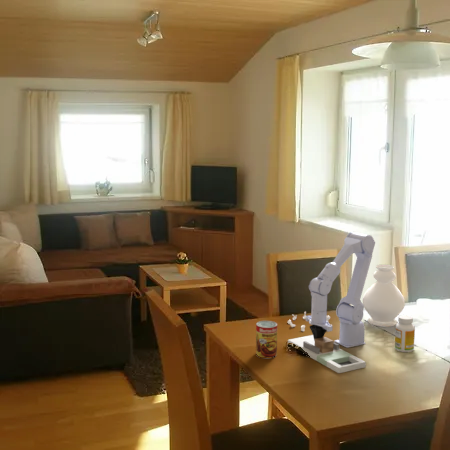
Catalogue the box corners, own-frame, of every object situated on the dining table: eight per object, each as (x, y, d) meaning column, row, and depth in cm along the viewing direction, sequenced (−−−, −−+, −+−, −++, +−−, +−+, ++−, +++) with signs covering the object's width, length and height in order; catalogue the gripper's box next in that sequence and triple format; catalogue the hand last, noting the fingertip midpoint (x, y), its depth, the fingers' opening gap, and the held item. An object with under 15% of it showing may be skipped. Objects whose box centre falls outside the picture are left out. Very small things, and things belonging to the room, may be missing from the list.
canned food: (261, 359, 234) (262, 328, 232) (252, 352, 241) (252, 322, 239) (280, 356, 237) (281, 325, 235) (270, 349, 244) (271, 319, 242)
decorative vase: (408, 328, 268) (411, 271, 264) (366, 328, 268) (368, 271, 264) (397, 315, 285) (400, 261, 281) (358, 315, 286) (360, 261, 281)
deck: (312, 339, 255) (313, 330, 254) (365, 367, 227) (365, 356, 226) (287, 344, 249) (288, 334, 248) (338, 373, 221) (339, 362, 221)
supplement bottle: (415, 347, 246) (416, 315, 244) (412, 353, 240) (413, 321, 238) (396, 344, 249) (397, 313, 247) (393, 350, 243) (394, 318, 241)
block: (325, 346, 241) (325, 336, 241) (333, 351, 237) (333, 340, 236) (314, 348, 239) (314, 338, 238) (322, 353, 235) (322, 343, 234)
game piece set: (325, 317, 284) (325, 309, 284) (339, 332, 265) (339, 323, 264) (282, 319, 282) (283, 310, 281) (293, 334, 262) (293, 325, 262)
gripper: (299, 306, 243) (298, 339, 246) (321, 316, 231) (320, 351, 233) (314, 303, 247) (313, 336, 249) (337, 313, 234) (336, 348, 236)
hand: (318, 344), depth 241 cm, fingers closed
